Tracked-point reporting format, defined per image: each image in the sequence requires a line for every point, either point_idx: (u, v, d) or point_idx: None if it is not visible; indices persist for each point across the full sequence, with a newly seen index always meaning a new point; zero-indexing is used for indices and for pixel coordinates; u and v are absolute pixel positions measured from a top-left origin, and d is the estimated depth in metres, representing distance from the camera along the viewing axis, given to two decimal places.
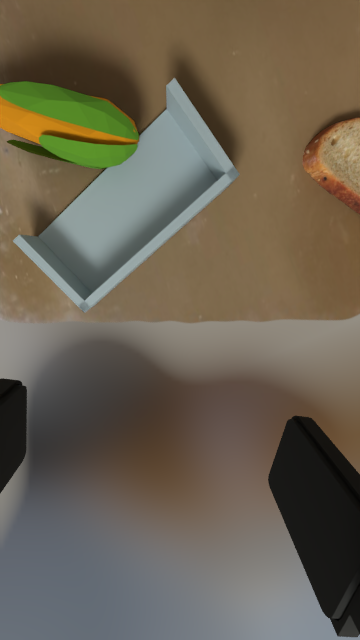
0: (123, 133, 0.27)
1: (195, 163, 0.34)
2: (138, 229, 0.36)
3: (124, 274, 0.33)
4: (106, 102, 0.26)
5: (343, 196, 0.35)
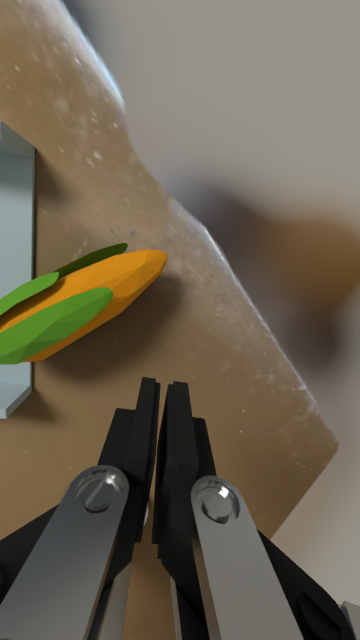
0: None
1: None
2: None
3: None
4: (16, 362, 0.22)
5: None
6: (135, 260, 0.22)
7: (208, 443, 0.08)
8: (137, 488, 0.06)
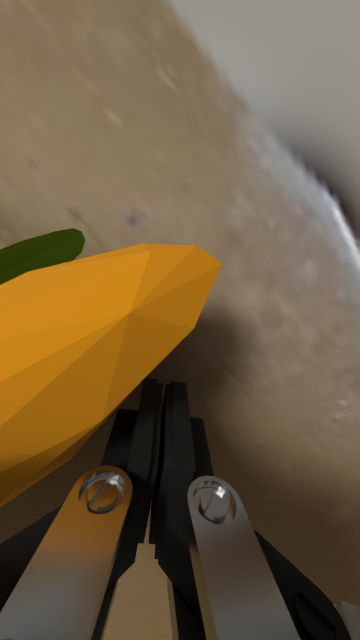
0: None
1: None
2: None
3: None
4: None
5: None
6: (96, 293, 0.05)
7: (206, 443, 0.08)
8: (140, 489, 0.06)
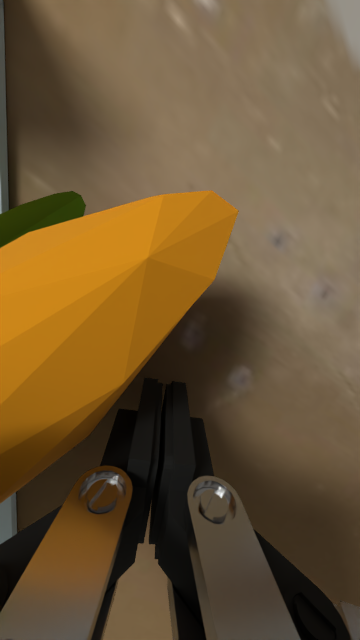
0: None
1: None
2: None
3: None
4: None
5: None
6: (109, 240, 0.05)
7: (206, 443, 0.08)
8: (140, 489, 0.06)
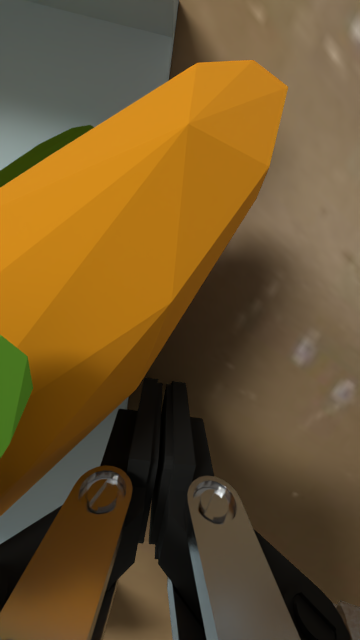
0: None
1: None
2: None
3: None
4: None
5: None
6: (138, 119, 0.04)
7: (206, 443, 0.08)
8: (140, 489, 0.06)
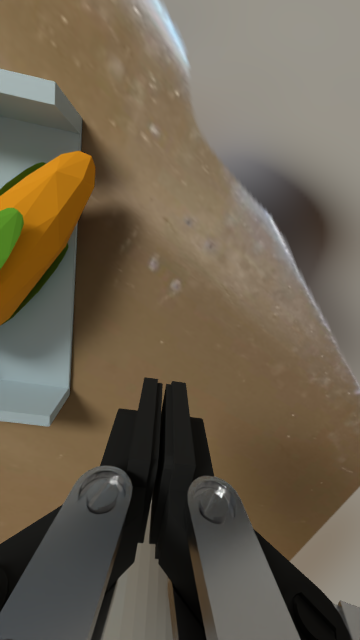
0: None
1: (1, 371, 0.27)
2: None
3: None
4: None
5: None
6: (46, 169, 0.17)
7: (206, 443, 0.08)
8: (140, 489, 0.06)
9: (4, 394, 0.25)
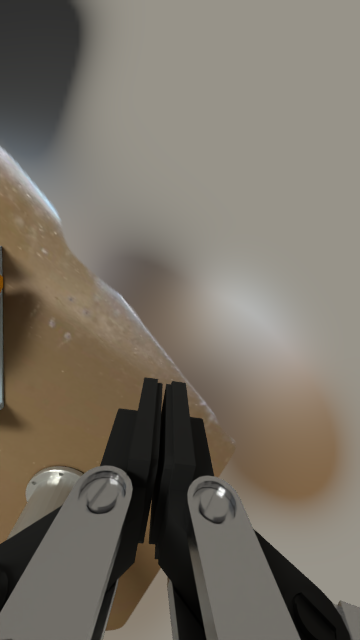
0: None
1: None
2: None
3: None
4: None
5: None
6: None
7: (206, 443, 0.08)
8: (140, 489, 0.06)
9: None
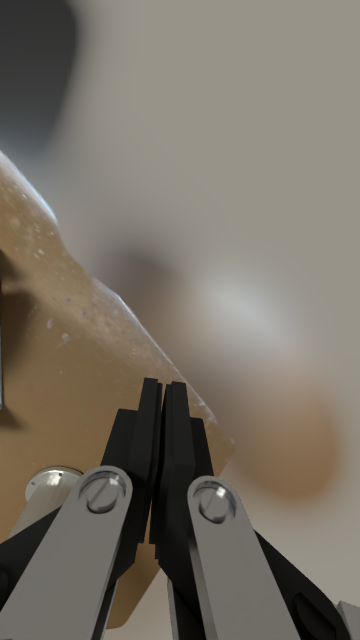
0: None
1: None
2: None
3: None
4: None
5: None
6: None
7: (206, 443, 0.08)
8: (140, 489, 0.06)
9: None
